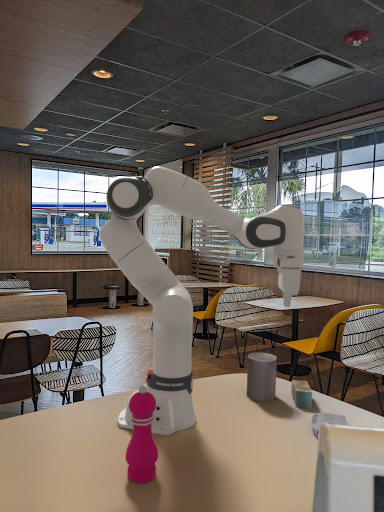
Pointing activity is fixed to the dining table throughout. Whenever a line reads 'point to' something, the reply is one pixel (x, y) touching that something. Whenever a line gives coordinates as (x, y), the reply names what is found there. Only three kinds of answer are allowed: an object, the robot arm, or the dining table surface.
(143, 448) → the pepper mill
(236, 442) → the dining table surface
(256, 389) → the pillar candle
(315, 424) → the stone block
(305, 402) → the walnut block
